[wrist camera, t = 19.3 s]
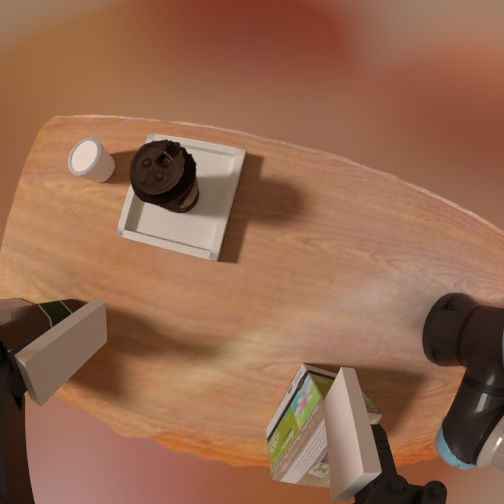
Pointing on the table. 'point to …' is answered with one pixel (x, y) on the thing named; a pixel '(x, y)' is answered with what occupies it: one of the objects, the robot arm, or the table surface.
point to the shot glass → (91, 161)
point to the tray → (201, 215)
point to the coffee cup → (165, 176)
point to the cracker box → (10, 308)
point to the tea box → (305, 429)
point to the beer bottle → (35, 320)
